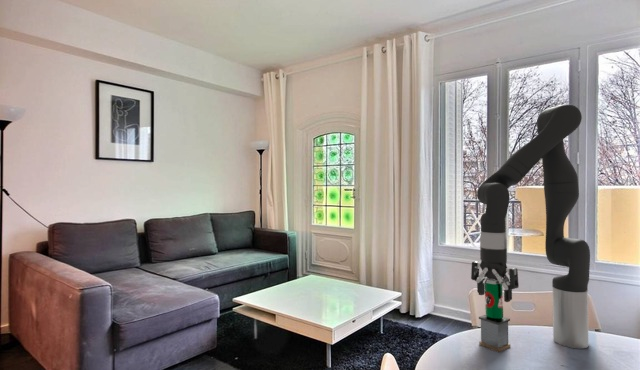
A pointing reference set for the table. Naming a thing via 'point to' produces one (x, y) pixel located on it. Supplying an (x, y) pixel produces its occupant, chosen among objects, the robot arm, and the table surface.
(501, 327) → the service unit
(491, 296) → the soda can
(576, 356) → the table surface
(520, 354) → the table surface
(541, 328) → the table surface
